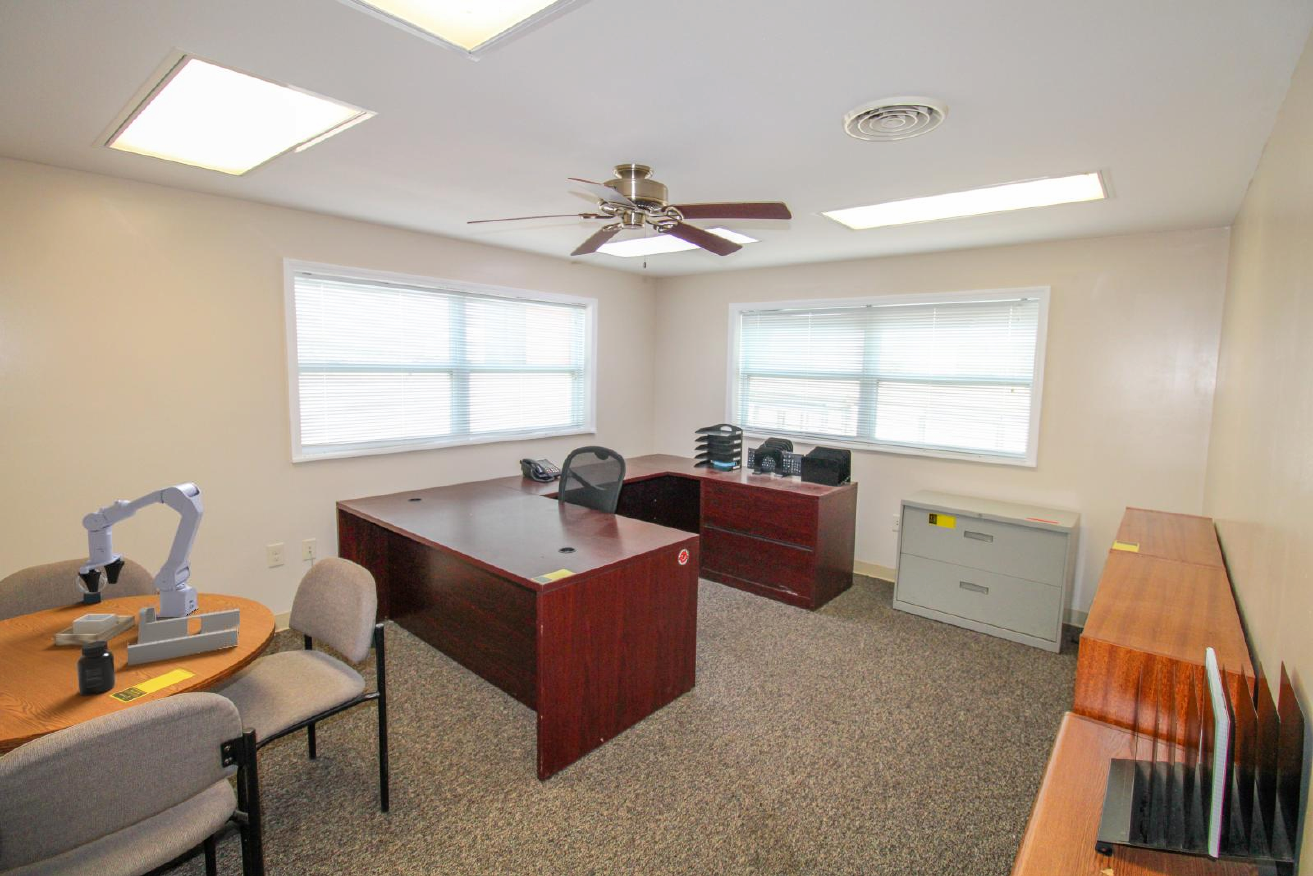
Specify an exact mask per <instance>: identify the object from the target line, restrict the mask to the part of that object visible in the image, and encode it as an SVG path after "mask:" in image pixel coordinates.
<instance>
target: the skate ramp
mask: <svg viewBox="0 0 1313 876" xmlns="http://www.w3.org/2000/svg"><path fill="white" fill-rule="evenodd" d="M152 603H153V604H152ZM152 603H151V605H153V606H147V605H148V602H147V603H145V604H147V605H144V606H145V607H142V606H139V608H140V609H139V611H138V632H137V633H138V636H137V642H136V641H135V644H132V645H129V644H131V642H130V643H129V642H128V643H127V644H126V648H127V649H126V650H127V651H126V652H127V666H129V667H130V666H134V665H140V664H146V663H151V662H157V661H163V660H168V659H175V658H178V657H179V656H180V657H184V656H183V655H186V656H191V655H190V654H192V655H195V654H194V653H198V652H203V651H208V650H215V651H217V650H216V649H219V648H223V647H227V646H234V645H238V646H239V640H238V629H237V628H235V629H231V628H233V627H240V628H241V608H240V605H236V607H235V605H233V606H230V607H229V608H228V609H229V610H228V609H227V610H224V609H226V607H223V608H219V607H218V608H216V609H213V612H211V611H212V608H211V609H206V613H204V611H205V609H204V610H202V611H201V612H200V614H197V613H198V611H196V610H195V612H194V613H193V614H194V615H190V614H191V613H190V612H189V613H190V614H188V615H186V616H184V617H182V616H183V615H182V616H181V617H176V616H175V615H174V617H173V618H170V617H168V616H167V617H166V619H163V618H164V617H163V616H162V617H159V620H157V617H156V614H157V612H156V603H155V602H154V601H153V602H152ZM237 606H238V607H237ZM231 607H232V609H231ZM217 609H218V610H219V611H218V610H217ZM210 610H211V611H210ZM196 612H197V613H196ZM209 612H210V613H209ZM183 614H184V613H183ZM176 615H177V614H176ZM189 615H190V616H189ZM169 616H170V615H169ZM198 618H199V619H200V631H199V632H198V631H197V632H193V633H190V635H189V632H190V631H189V620H190V619H198ZM229 628H230V629H229ZM225 629H228V630H225ZM220 630H221V631H220ZM188 631H189V632H188ZM206 632H210V633H206ZM197 633H199V634H197ZM192 634H193V635H192ZM187 635H188V636H187ZM136 643H137V644H136ZM203 653H204V652H203ZM198 654H199V653H198ZM180 657H179V658H180Z"/></svg>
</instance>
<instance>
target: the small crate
mask: <svg viewBox="0 0 1313 876" xmlns="http://www.w3.org/2000/svg"><path fill="white" fill-rule="evenodd" d="M116 616H117V613H87V614H85V615H83V616H81V617H79V618H77V619H74V620H72V626H73V634H99V633H101V632H102V631H104V630H106V629H108V628H110V627H112V626H114V625H116V624H117V623H116Z"/></svg>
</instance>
